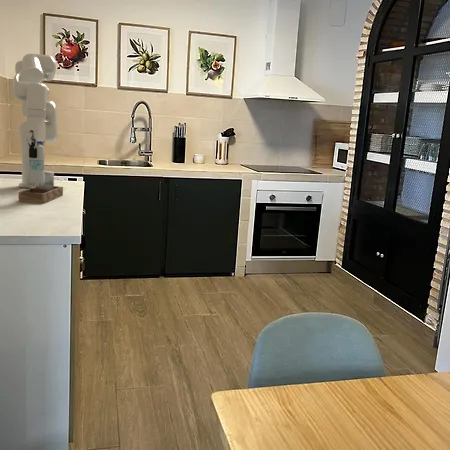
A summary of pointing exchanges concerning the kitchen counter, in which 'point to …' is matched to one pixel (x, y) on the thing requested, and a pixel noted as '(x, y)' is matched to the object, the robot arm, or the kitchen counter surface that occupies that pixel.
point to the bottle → (37, 167)
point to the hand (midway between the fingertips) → (36, 156)
